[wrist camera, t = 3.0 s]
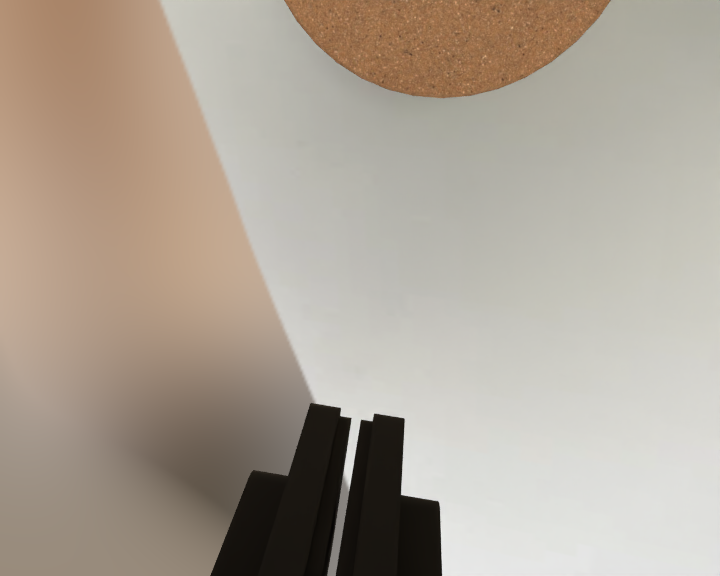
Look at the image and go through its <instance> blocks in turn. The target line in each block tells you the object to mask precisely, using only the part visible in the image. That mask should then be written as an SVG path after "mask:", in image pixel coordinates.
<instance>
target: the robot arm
mask: <svg viewBox="0 0 720 576" xmlns="http://www.w3.org/2000/svg"><path fill="white" fill-rule="evenodd" d="M340 412H341V408H338V407H331V406H325V405H319V404H313V403H311V404H310V407H309V410H308V413H307V416H306V419H305V423H304V426H303V429H302V433H301V436H300V439H299V442H298V446H297V449H296V452H295V456H294V459H293V462H292V465H291V469H290V472H289V475H288V476H284V475H279V474H273V473H267V472H261V471H255V470H253V471H252V473H251V475H250V476H249V478H248V481H247V484H246V487H245V489H244V491H243V494H242V496H241V499H240V502H239V504H238V507H237V509H236V512H235V514H234V517H233V519H232V522H231V524H230V527H229V530H228V532H227V535H226V537H225V540H224V543H223V545H222V547H221V550H220V553H219V555H218V558H217V560H216V563H215V565H214V568H213V571H212V573H211V576H327V573H328V567H329V562H330V556H331V550H332V543H333V538H334V531H335V525H336V518H337V511H338V504H339V498H340V490H341V485H342V478H343V471H344V465H345V458H346V451H347V445H348V438H349V431H350V425H351V418H347V417H341V416H340ZM404 420H405V419H404V418H398V417H392V416H386V415H380V414H374V418H373V422H372V421H366V420H361V424H360V430H359V436H358V442H357V448H356V454H355V460H354V467H353V473H352V479H351V485H350V491H349V497H348V504H347V510H346V516H345V522H344V529H343V535H342V540H341V547H340V553H339V559H338V566H337V571H336V576H442V561H441V529H440V506H439V502H438V501H433V500H427V499H421V498H415V497H409V496H403V495H401V480H402V461H403V441H404Z"/></svg>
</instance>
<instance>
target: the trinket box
mask: <svg viewBox="0 0 720 576" xmlns="http://www.w3.org/2000/svg"><path fill="white" fill-rule="evenodd" d="M284 1H285V2H286V4H287V6H288V7H289V9H290V11H291V12H292V14H293V15H294V17H295V19H296V20H297V22H298V23H299V24H300V25H301V26H302V28H303V29H304V30H305V31H306V33H307V34H308V35H309V36H310V37H311V39H312V40H313V41H314V42H315V43H316V44H317V45H318V46H319V47H320V48H321V49H322V50H324V51H325V52H326V53H327V54H328V55H329V56H330V57H331V58H333V59H334V60H335V61H336V62H337V63H339V64H340V65H342V66H343V67H345V68H346V69H348V70H349V71H351V72H353V73H354V74H356V75H357V76H359V77H360V78H362V79H365V80H367V81H369V82H372V83H374V84H376V85H379V86H381V87H383V88H386V89H389V90H393V91H397V92H401V93H405V94H409V95H413V96H423V97H435V98H448V97H460V96H471V95H475V94H479V93H483V92H487V91H491V90H495V89H499V88H501V87H504V86H506V85H508V84H511V83H513V82H516V81H518V80H521V79H523V78H525V77H527V76H529V75H530V74H532V73H534V72H535V71H537V70H539V69H540V68H542V67H544V66H545V65H547V64H549V63H550V62H552V61H553V60H554V59H556V58H557V57H558V56H559V55H560V54H562V53H563V52H564V51H565V50H567V49H568V48H569V47H570V46H571V45H573V44H574V43H575V42H576V41H577V40H578V39H579V38H580V37H581V36H582V35H583V34H584V33H585V32H586V30H587V29H588V28H589V27H590V26H591V25H592V24H593V23H594V22H595V21H596V20H597V19H598V17H599V16H600V15H601V13H602V12H603V10H604V9H605V8H606V6H607V5H608V3H609V2H610V0H284Z"/></svg>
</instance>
